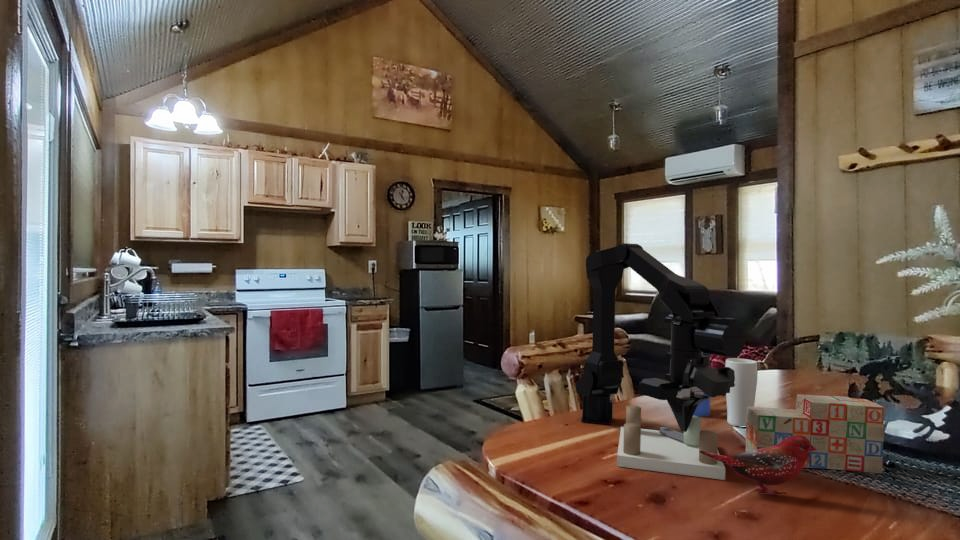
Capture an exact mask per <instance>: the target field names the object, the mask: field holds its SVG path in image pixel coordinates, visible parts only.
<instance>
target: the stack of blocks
mask: <svg viewBox="0 0 960 540" xmlns="http://www.w3.org/2000/svg"><path fill="white" fill-rule="evenodd" d="M884 422H885V407H884V406H882V405H880V404H879V403H876V402H873V401H871V400H869V399H866V398H855V397H849V396H839V395H838V396H837V395H831V396H829V395H817V394H815V395H813V394H796V405H795V409H793V408H792V409H790V408H789V409H788V408H780V407H779V408H777V407H761V406H754V407H749V406H748V407H747V422H746V428H745V452H746V451H751V450H756V449H762V448H768V447H772V446H775V445H777V444H779V443H780V442H782V441H783V440H784V439H786V438H788V437H792V436H795V435H803V436H805V437H806V438H807V439H808V440H809V441H810V443H811V445H812V446H813V447H815V448H816V449H817V451H816V450H815V451H811V452H810V455H809V458H808V459H807V460H806V462H805V464H804V467H803V468H810V469H811V468H812V469H825V470H826V469H827V470H837V471H838V470H839V471H851V472H860V473H861V472H862V473H873V474H883V462H884V459H883V454H884V441H885V423H884Z"/></svg>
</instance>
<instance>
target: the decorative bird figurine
mask: <svg viewBox="0 0 960 540" xmlns="http://www.w3.org/2000/svg"><path fill="white" fill-rule="evenodd" d="M815 450H816V451H817V449H816V448H815V447H813V446H812V445H811V443H810V441H809V440H808V439H807V438H806V437H805V436H803V435H795V436H792V437H788V438H786V439H784V440H783V441H782V442H780V443H779V444H777V445H775V446H772V447H768V448H762V449H756V450H751V451H746V450H745V451H743V452H740V453H736V454H734V455H731V456H728V455H722V454H720V453H719V454H720V455H719V454H714V453H710V452H705V451H699V452H700V453H702V454H704V455H707V456H709V457H711V458H714V459H716V460H719V461H721V462H723V464H724V465H727V466H728V467H729V468H730V469H732V471H734V472H735V473H736V474H737V475H738V476H740V477H743V478H746V479H747V480H749V481H752V482H753V483H754V484H755V485H756V486H758V487H759V488H756V489H754V490H753V491H752V492H754V493H755V492H758V494H765V495H767V494H768V495H772V496H777V495H789V493H788V492H784V491H783V492H780V491H778V490H775V489H774V490H772V489H769V488H768V487H767V486H778V485H783V484H786V483H788V482H790V481H792V480H794V479H795V478H797V476H799V474H800V473H801V472H802V470H803V469H804V468H805V467H804V464H805V462H806V460H807V459H808V458H809V455H810V452H811V451H815Z"/></svg>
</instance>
